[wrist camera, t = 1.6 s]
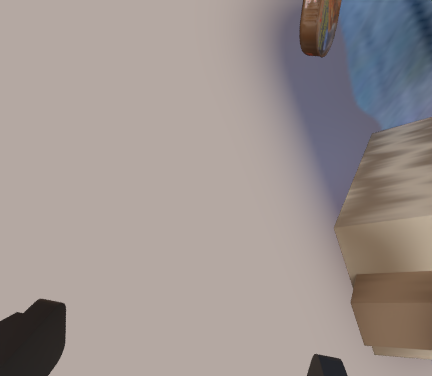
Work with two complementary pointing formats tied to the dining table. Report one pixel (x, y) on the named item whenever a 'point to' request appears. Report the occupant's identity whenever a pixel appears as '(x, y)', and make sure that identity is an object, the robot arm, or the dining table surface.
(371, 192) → the stand
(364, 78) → the dining table surface
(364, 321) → the walnut bar
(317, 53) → the tin
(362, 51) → the dining table surface
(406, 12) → the dining table surface
